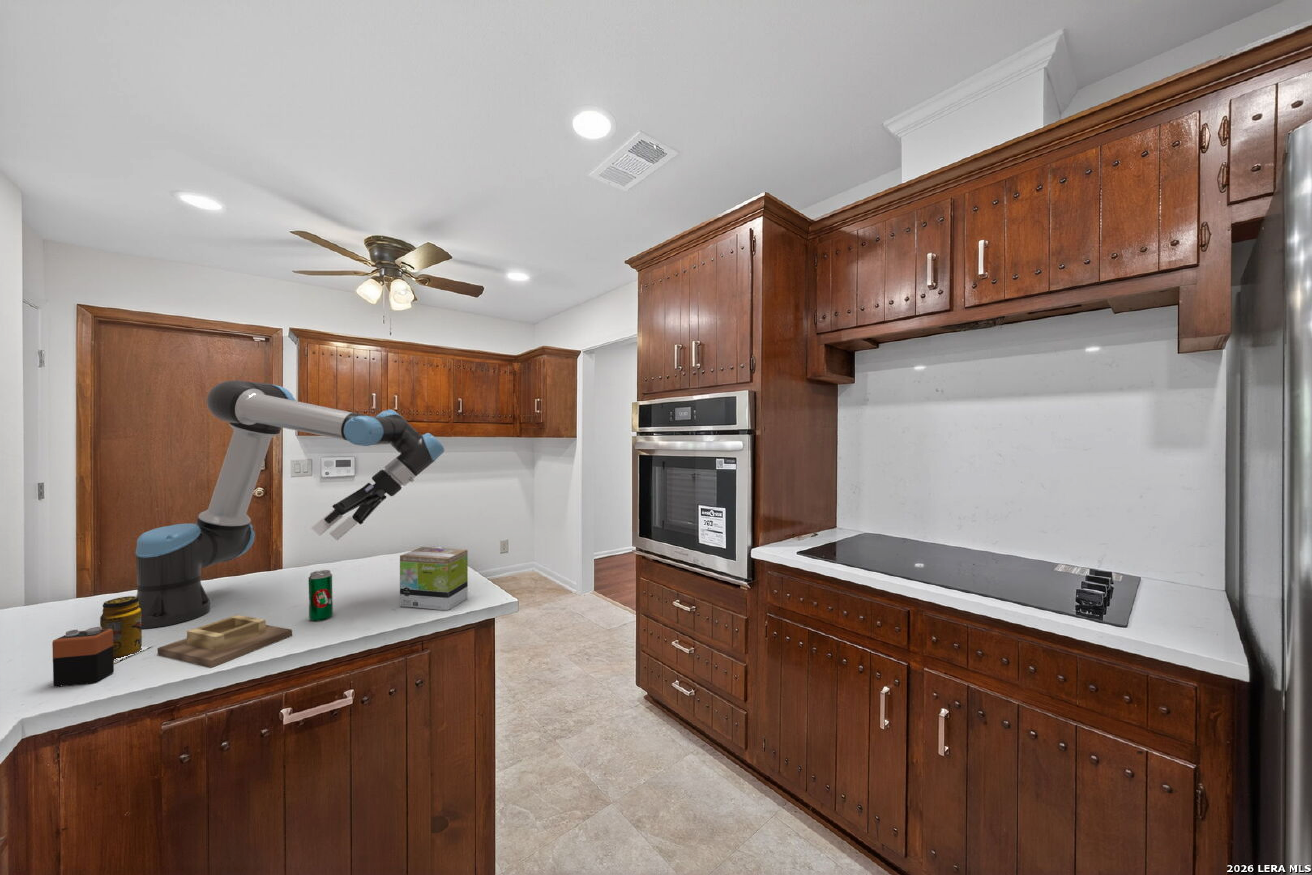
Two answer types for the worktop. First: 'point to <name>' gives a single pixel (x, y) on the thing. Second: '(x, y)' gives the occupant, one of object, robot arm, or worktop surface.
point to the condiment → (123, 625)
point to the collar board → (224, 640)
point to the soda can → (320, 595)
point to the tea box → (433, 578)
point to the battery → (83, 656)
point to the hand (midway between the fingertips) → (324, 534)
